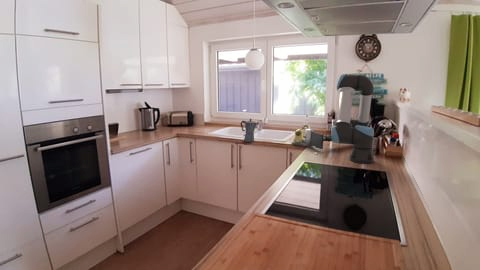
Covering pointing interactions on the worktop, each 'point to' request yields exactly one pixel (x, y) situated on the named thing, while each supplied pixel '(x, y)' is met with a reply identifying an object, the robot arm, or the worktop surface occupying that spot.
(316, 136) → the grey white box
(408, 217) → the worktop surface
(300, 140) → the pale yellow rounded lump
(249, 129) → the moka pot
